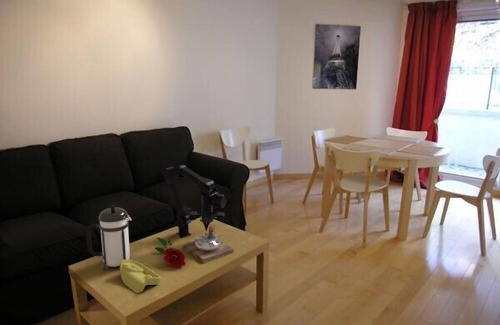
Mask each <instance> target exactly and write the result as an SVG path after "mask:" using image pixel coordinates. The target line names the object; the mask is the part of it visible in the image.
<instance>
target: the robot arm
mask: <svg viewBox="0 0 500 325" xmlns="http://www.w3.org/2000/svg"><path fill="white" fill-rule="evenodd" d="M161 174H162V177H163V178H164V179H163V180H164V181H165V182H166V183H167V184H168V185H169V187H170V190H171V193H172V196H173V198H174V201H175V204H176V207H177V213H176V214H177V215H176V216H177V219H176V220H175V221H174V226H175V227H177V229H178V231H177V232H175V235H177V236H178V237H180V238H185V237H188V236H191V235H192V233H191V232H190V229H189V228H190V227H189V224H191V223H192V221H195V220H197V218H199V219H200V220H199V222H202V224H203V227H204V230H205V232H207V231H208V230H209V226H210V224H211V223H213V222H214V220H215V219H216V220H217V221H218V222H224V221H225V213H224V212H223V211H221V212H219V211H218V212H216V214H215V212H213V207H216V208H220V209H223V208H225V206H226V205H227V202H228V201H227V198H226V197H225V195H224V194H220V192H219V190H218V188H217V187H216V184H215V182H214V180H212V179H210V178H207V177H203V176H201V175H199V174H198V173H197V172H195V171H194V170H192V169H190V168H189V167H187V166H186V165H185V164H181V165H178V166H171V167H167V168H164V169H163V170H162V173H161ZM179 174H180V175H181V176H183V177H184V178H186V179H187V180H189V181H190V182H192V183H193V184H195V185H196V186H197V189H199V191H200V192H199V193H198V195H200V196H201V212H200V213H198V211H193V209H192V207H189V206H187V203H186V200H185V198H184V195H183V192H182V189H181V186H180V183H179V178H180V175H179Z"/></svg>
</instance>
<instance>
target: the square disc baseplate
mask: <svg viewBox="0 0 500 325" xmlns="http://www.w3.org/2000/svg"><path fill="white" fill-rule="evenodd" d="M182 248H183V249H184V250H186V251H187V252H188V253H190V254H191V255H192V256H193V257H195V258H196V259H197V260H199V261H200V262H202V263H203V264H205V263H207V262H210V261H214V260H216V259H219V258H222V257H224V256H227V255H231V254H233V253H234V250H235V249H234V248H233V247H231V246H229V245H228V244H227V243H226V242H223V241H222V240H221V247H220V248H219V249H218V250H216V251H214V252H201V251H198V250H197V249H196V248H195V240H192V241H189V242H186V243H183V244H182Z"/></svg>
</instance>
